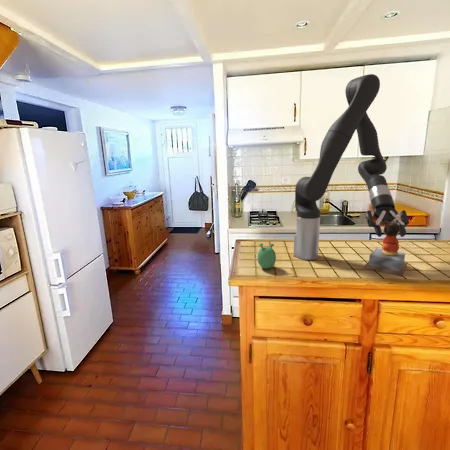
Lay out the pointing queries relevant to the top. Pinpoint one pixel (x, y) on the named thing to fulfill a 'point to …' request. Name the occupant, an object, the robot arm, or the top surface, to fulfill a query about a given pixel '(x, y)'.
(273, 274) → the top surface
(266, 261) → the alien toy
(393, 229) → the figurine
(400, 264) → the pedestal
